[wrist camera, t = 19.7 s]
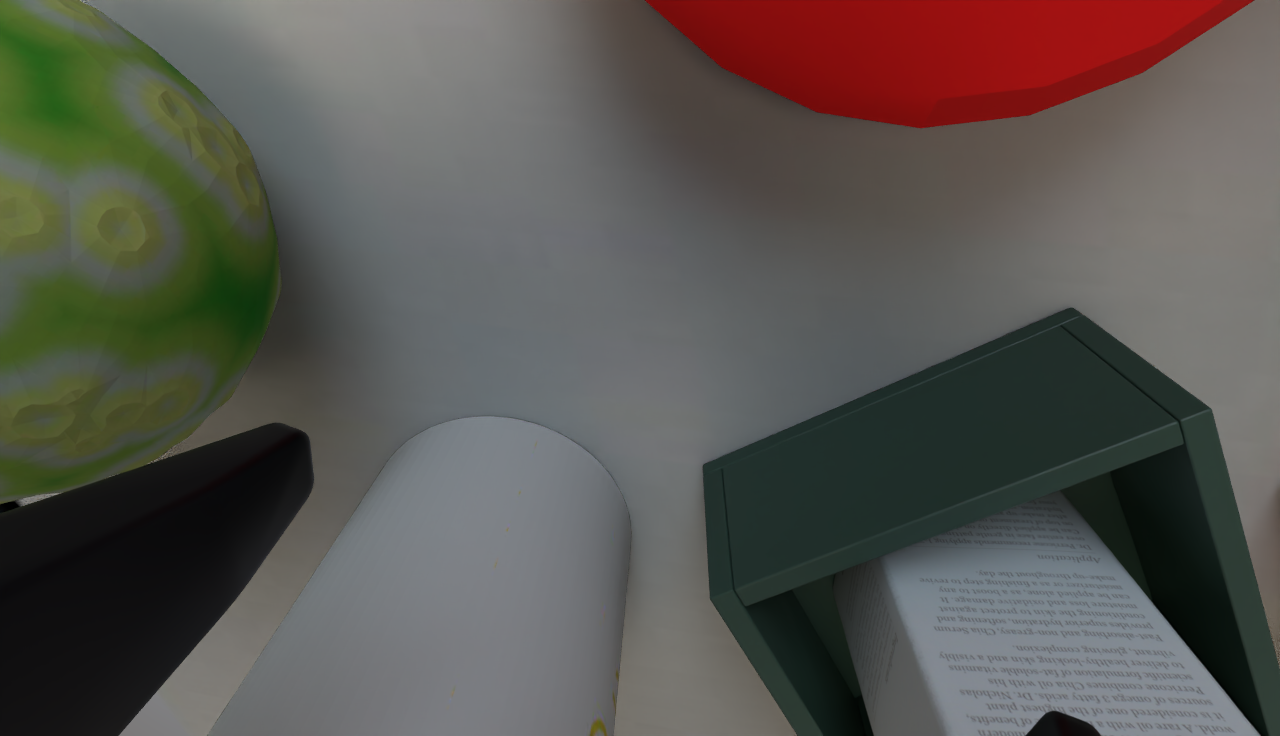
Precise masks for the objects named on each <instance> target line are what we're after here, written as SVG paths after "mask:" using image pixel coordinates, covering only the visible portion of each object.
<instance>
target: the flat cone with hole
mask: <svg viewBox="0 0 1280 736" xmlns="http://www.w3.org/2000/svg"><path fill="white" fill-rule="evenodd" d="M645 1H646V2H647V3H648V4H650V5H651V6H652V7H653V8H654V9H655V10H656V11H658V12H659V13H660V14H661V15H662V16H663V17H664V18H666V19H667V20H668V21H669V22H670V23H671V24H672V25H674V26H675V27H676V28H677V29H678V30H679V31H680V32H682V33H683V34H684V35H685V36H686V37H687V38H688V39H690V40H691V41H692V42H693V43H694V44H695V45H696V46H698V47H699V48H700V49H701V50H702V51H703V52H704V53H706V54H707V55H708V56H709V57H710V58H711V59H713V60H714V61H715V62H716V63H717V64H718V65H719V66H721V67H722V68H724V69H726V70H728V71H730V72H732V73H734V74H736V75H739V76H741V77H743V78H745V79H747V80H749V81H751V82H753V83H756V84H758V85H760V86H762V87H764V88H766V89H768V90H771V91H773V92H775V93H777V94H779V95H781V96H783V97H786V98H788V99H790V100H792V101H794V102H796V103H798V104H801V105H803V106H805V107H807V108H809V109H811V110H813V111H816V112H819V113H825V114H832V115H838V116H845V117H851V118H858V119H864V120H871V121H877V122H884V123H890V124H897V125H903V126H910V127H916V128H926V127H935V126H943V125H952V124H960V123H969V122H977V121H986V120H994V119H1003V118H1011V117H1020V116H1028V115H1032V114H1034V113H1037V112H1040V111H1042V110H1045V109H1048V108H1050V107H1053V106H1056V105H1058V104H1061V103H1064V102H1066V101H1069V100H1072V99H1074V98H1077V97H1080V96H1082V95H1085V94H1088V93H1090V92H1093V91H1095V90H1098V89H1101V88H1103V87H1106V86H1109V85H1111V84H1114V83H1117V82H1119V81H1122V80H1125V79H1127V78H1130V77H1133V76H1135V75H1138V74H1141V73H1143V72H1144V71H1146V70H1147V69H1149V68H1151V67H1152V66H1154V65H1155V64H1157V63H1158V62H1160V61H1161V60H1163V59H1164V58H1166V57H1168V56H1169V55H1171V54H1172V53H1174V52H1175V51H1177V50H1178V49H1180V48H1181V47H1183V46H1185V45H1186V44H1188V43H1189V42H1191V41H1192V40H1194V39H1195V38H1197V37H1198V36H1200V35H1202V34H1203V33H1205V32H1206V31H1208V30H1209V29H1211V28H1212V27H1214V26H1215V25H1217V24H1219V23H1220V22H1222V21H1223V20H1225V19H1226V18H1228V17H1229V16H1231V15H1232V14H1234V13H1236V12H1237V11H1239V10H1240V9H1242V8H1243V7H1245V6H1246V5H1248V4H1249V3H1251V2H1253V1H1254V0H645Z"/></svg>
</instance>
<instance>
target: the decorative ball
mask: <svg viewBox="0 0 1280 736" xmlns="http://www.w3.org/2000/svg"><path fill="white" fill-rule="evenodd" d="M281 284H282V278H281V271H280V263H279V253H278V243H277V236H276V232H275V228H274V224H273V220H272V215H271V211H270V207H269V203H268V199H267V195H266V191H265V189H264V186H263V183H262V180H261V178H260V175H259V172H258V169H257V167H256V164H255V162H254V159H253V157H252V154H251V152H250V149H249V148H248V146H247V144H246V143H245V141H244V140H243V138H242V137H241V135H240V134H239V133H238V131H237V130H236V129H235V128H234V126H233V125H232V124H231V123H230V122H229V121H228V120H227V119H226V118H225V117H224V115H223V114H222V113H221V112H220V111H219V110H218V109H217V108H216V107H215V106H214V105H213V104H212V102H211V101H210V100H209V99H208V98H207V97H206V96H205V95H204V94H203V93H202V92H201V91H200V90H199V89H198V88H197V87H196V86H195V85H194V84H193V83H191V82H190V81H189V80H188V79H187V78H186V77H185V76H183V75H182V74H181V73H180V72H179V71H178V70H177V69H175V68H174V67H173V66H172V65H171V64H170V63H168V62H167V61H166V60H165V59H164V58H163V57H162V56H160V55H159V54H158V53H157V52H156V51H155V50H153V49H152V48H151V47H149V46H148V45H147V44H145V43H144V42H142V41H141V40H140V39H138V38H137V37H135V36H134V35H133V34H131V33H130V32H128V31H127V30H126V29H124V28H123V27H121V26H120V25H119V24H117V23H116V22H114V21H113V20H112V19H110V18H109V17H107V16H106V15H105V14H103V13H102V12H100V11H99V10H97V9H96V8H94V7H91V6H89V5H87V4H85V3H83V2H81V1H79V0H0V504H1V503H6V502H10V501H14V500H18V499H22V498H26V497H31V496H35V495H40V494H50V493H61V492H67V491H70V490H73V489H76V488H79V487H82V486H85V485H88V484H91V483H94V482H97V481H100V480H103V479H105V478H107V477H109V476H112V475H116V474H119V473H123V472H127V471H130V470H133V469H136V468H139V467H141V466H144V465H146V464H148V463H150V462H151V461H153V460H155V459H157V458H158V457H160V456H161V455H163V454H164V453H165V452H166V451H167V450H169V449H170V448H171V447H172V446H174V445H176V444H178V443H180V442H182V441H183V440H185V439H186V438H188V437H189V436H190V435H191V434H192V433H193V432H194V431H195V430H196V429H197V428H198V427H199V426H200V425H201V424H202V422H203V421H204V420H205V419H206V418H207V417H208V416H209V415H211V414H212V413H213V412H214V411H216V410H217V409H218V408H219V407H221V406H222V405H223V404H224V403H226V402H227V401H228V400H229V399H230V398H231V396H232V395H233V393H234V391H235V389H236V388H237V386H238V384H239V382H240V380H241V379H242V377H243V375H244V373H245V371H246V370H247V368H248V366H249V364H250V362H251V361H252V359H253V357H254V355H255V353H256V352H257V350H258V348H259V346H260V343H261V341H262V339H263V337H264V334H265V332H266V330H267V327H268V325H269V322H270V319H271V317H272V314H273V312H274V309H275V306H276V304H277V301H278V298H279V296H280V292H281Z"/></svg>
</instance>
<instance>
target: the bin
mask: <svg viewBox="0 0 1280 736" xmlns="http://www.w3.org/2000/svg"><path fill="white" fill-rule="evenodd" d="M703 476H704V477H703V481H704V499H705V517H706V535H707V554H708V572H709V590H710V600H711V601H712V603H713V604H714V606H715V608H716V609H717V611H718V612H719V614H720V615H721V617H722V619H723V620H724V622H725V623H726V625H727V626H728V628H729V629H730V631H731V633H732V634H733V636H734V637H735V639H736V640H737V642H738V643H739V645H740V647H741V648H742V650H743V651H744V653H745V654H746V656H747V657H748V659H749V661H750V662H751V664H752V665H753V667H754V668H755V670H756V672H757V673H758V675H759V676H760V678H761V679H762V681H763V682H764V684H765V686H766V687H767V689H768V690H769V692H770V693H771V695H772V696H773V698H774V700H775V701H776V703H777V704H778V706H779V707H780V709H781V710H782V712H783V714H784V715H785V717H786V718H787V720H788V721H789V723H790V724H791V726H792V728H793V729H794V731H795V732H796V734H797V735H798V736H874V734H873V731H872V727H871V724H870V720H869V717H868V713H867V710H866V707H865V703H864V700H863V696H862V692H861V689H860V685H859V682H858V678H857V675H856V672H855V668H854V665H853V661H852V658H851V654H850V651H849V647H848V643H847V640H846V636H845V632H844V629H843V625H842V622H841V618H840V615H839V612H838V608H837V605H836V601H835V598H834V594H833V585H834V580H835V575H836V573H838V572H840V571H843V570H846V569H849V568H851V567H854V566H857V565H859V564H862V563H865V562H867V561H870V560H873V559H876V558H878V557H881V556H884V555H886V554H889V553H892V552H894V551H897V550H900V549H902V548H905V547H908V546H911V545H913V544H916V543H919V542H921V541H924V540H927V539H929V538H932V537H935V536H938V535H940V534H943V533H946V532H948V531H951V530H954V529H956V528H959V527H962V526H965V525H967V524H970V523H973V522H975V521H978V520H981V519H983V518H986V517H989V516H991V515H994V514H997V513H1000V512H1002V511H1005V510H1008V509H1010V508H1013V507H1016V506H1018V505H1021V504H1024V503H1027V502H1029V501H1032V500H1035V499H1037V498H1040V497H1043V496H1045V495H1048V494H1051V493H1054V492H1056V491H1059V490H1060V491H1061V492H1063V494H1064V495H1065V496H1066V497H1067V499H1068V500H1069V501H1070V502H1071V503H1072V505H1073V506H1074V507H1075V508H1076V509H1077V511H1078V512H1079V513H1080V514H1081V515H1082V517H1083V518H1084V519H1085V520H1086V522H1087V523H1088V524H1089V526H1090V527H1091V528H1092V529H1093V530H1094V532H1095V533H1096V534H1097V535H1098V536H1099V538H1100V539H1101V540H1102V541H1103V543H1104V544H1105V545H1106V546H1107V547H1108V549H1109V550H1110V551H1111V552H1112V553H1113V555H1114V556H1115V557H1116V559H1117V560H1118V561H1119V562H1120V564H1121V565H1122V566H1123V567H1124V568H1125V570H1126V571H1127V572H1128V573H1129V574H1130V576H1131V577H1132V578H1133V579H1134V581H1135V582H1136V583H1137V584H1138V586H1139V587H1140V588H1141V589H1142V591H1143V592H1144V593H1145V594H1146V596H1147V597H1148V598H1149V599H1150V600H1151V602H1152V603H1153V604H1154V605H1155V607H1156V608H1157V609H1158V610H1159V612H1160V613H1161V614H1162V615H1163V616H1164V618H1165V619H1166V620H1167V621H1168V623H1169V624H1170V625H1171V626H1172V628H1173V629H1174V630H1175V631H1176V633H1177V634H1178V635H1179V636H1180V637H1181V639H1182V640H1183V641H1184V642H1185V644H1186V645H1187V646H1188V647H1189V649H1190V650H1191V651H1192V652H1193V653H1194V655H1195V656H1196V657H1197V658H1198V660H1199V661H1200V662H1201V663H1202V664H1203V666H1204V667H1205V668H1206V669H1207V671H1208V672H1209V673H1210V674H1211V675H1212V677H1213V678H1214V679H1215V680H1216V682H1217V683H1218V684H1219V685H1220V686H1221V688H1222V689H1223V690H1224V691H1225V693H1226V694H1227V695H1228V696H1229V698H1230V699H1231V700H1232V701H1233V703H1234V704H1235V705H1236V706H1237V708H1238V709H1239V710H1240V711H1241V713H1242V714H1243V715H1244V717H1245V718H1246V719H1247V720H1248V721H1249V722H1250V724H1251V725H1252V726H1253V727H1254V729H1255V730H1256V731H1257V732H1258V733H1259V735H1260V736H1280V669H1279V665H1278V661H1277V657H1276V653H1275V649H1274V646H1273V642H1272V638H1271V634H1270V630H1269V626H1268V623H1267V619H1266V615H1265V611H1264V607H1263V604H1262V600H1261V596H1260V592H1259V588H1258V584H1257V581H1256V577H1255V573H1254V569H1253V565H1252V562H1251V558H1250V554H1249V550H1248V546H1247V542H1246V539H1245V535H1244V531H1243V527H1242V523H1241V520H1240V516H1239V512H1238V508H1237V504H1236V500H1235V497H1234V493H1233V489H1232V485H1231V481H1230V477H1229V474H1228V470H1227V466H1226V462H1225V458H1224V455H1223V451H1222V447H1221V443H1220V439H1219V435H1218V432H1217V428H1216V424H1215V420H1214V416H1213V413H1212V409H1211V408H1210V407H1208V406H1207V405H1205V404H1204V403H1203V402H1201V401H1200V400H1199V399H1197V398H1196V397H1195V396H1193V395H1192V394H1190V393H1189V392H1188V391H1186V390H1185V389H1184V388H1182V387H1181V386H1180V385H1178V384H1177V383H1176V382H1174V381H1173V380H1171V379H1170V378H1169V377H1167V376H1166V375H1165V374H1163V373H1162V372H1161V371H1159V370H1158V369H1156V368H1155V367H1154V366H1152V365H1151V364H1150V363H1148V362H1147V361H1146V360H1144V359H1143V358H1141V357H1140V356H1139V355H1137V354H1136V353H1135V352H1133V351H1132V350H1131V349H1129V348H1128V347H1127V346H1125V345H1124V344H1122V343H1121V342H1120V341H1118V340H1117V339H1116V338H1114V337H1113V336H1112V335H1110V334H1109V333H1107V332H1106V331H1105V330H1103V329H1102V328H1101V327H1099V326H1098V325H1097V324H1095V323H1094V322H1093V321H1091V320H1090V319H1088V318H1087V317H1086V316H1084V315H1082V314H1081V313H1080V312H1078V311H1077V310H1076V309H1074V308H1069V309H1066V310H1064V311H1062V312H1059V313H1057V314H1055V315H1052V316H1050V317H1047V318H1045V319H1043V320H1040V321H1038V322H1036V323H1033V324H1031V325H1029V326H1026V327H1024V328H1022V329H1019V330H1017V331H1015V332H1012V333H1010V334H1008V335H1005V336H1003V337H1001V338H998V339H996V340H994V341H991V342H989V343H987V344H984V345H982V346H980V347H977V348H975V349H973V350H970V351H968V352H966V353H963V354H961V355H959V356H956V357H954V358H952V359H949V360H947V361H945V362H942V363H940V364H938V365H935V366H933V367H931V368H928V369H926V370H924V371H921V372H919V373H917V374H914V375H912V376H910V377H907V378H905V379H903V380H900V381H898V382H896V383H893V384H891V385H889V386H886V387H884V388H882V389H879V390H877V391H874V392H872V393H870V394H867V395H865V396H863V397H860V398H858V399H856V400H853V401H851V402H849V403H846V404H844V405H842V406H839V407H837V408H835V409H832V410H830V411H828V412H825V413H823V414H821V415H818V416H816V417H814V418H811V419H809V420H807V421H804V422H802V423H800V424H797V425H795V426H793V427H790V428H788V429H786V430H783V431H781V432H779V433H776V434H774V435H772V436H769V437H767V438H765V439H762V440H760V441H758V442H755V443H753V444H751V445H748V446H746V447H744V448H741V449H739V450H737V451H734V452H732V453H730V454H727V455H725V456H723V457H720V458H718V459H716V460H713V461H711V462H709V463H706V464H704V465H703Z"/></svg>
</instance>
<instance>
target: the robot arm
mask: <svg viewBox="0 0 1280 736" xmlns="http://www.w3.org/2000/svg"><path fill="white" fill-rule="evenodd" d="M313 483H314V473H313V464H312V454H311V445H310V439H309V437H308V435H307V434H306V433H305V432H303V431H301V430H299V429H296V428H293V427H291V426H288V425H285V424H282V423H271V424H267V425H264V426H261V427H258V428H255V429H252V430H249V431H246V432H243V433H240V434H237V435H234V436H231V437H228V438H225V439H222V440H219V441H216V442H213V443H210V444H207V445H204V446H201V447H198V448H195V449H193V450H190V451H187V452H184V453H181V454H178V455H175V456H172V457H169V458H166V459H163V460H160V461H157V462H154V463H151V464H148V465H145V466H142V467H139V468H136V469H133V470H130V471H127V472H124V473H121V474H118V475H115V476H112V477H109V478H106V479H103V480H100V481H97V482H94V483H91V484H88V485H85V486H82V487H79V488H76V489H73V490H70V491H67V492H64V493H61V494H58V495H55V496H52V497H49V498H46V499H43V500H40V501H37V502H34V503H31V504H28V505H25V506H22V507H19V508H16V509H13V510H10V511H7V512H4V513H1V514H0V736H119V735H120V733H121V732H122V731H123V730H124V729H125V728H126V726H127V725H128V724H129V723H130V722H131V721H132V719H133V718H134V717H135V716H136V715H137V714H138V713H139V711H140V710H141V709H142V708H143V707H144V706H145V704H146V703H147V702H148V701H149V700H150V699H151V697H152V696H153V695H154V694H155V693H156V692H157V691H158V689H159V688H160V687H161V686H162V685H163V684H164V682H165V681H166V680H167V679H168V678H169V677H170V676H171V674H172V673H173V672H174V671H175V670H176V669H177V667H178V666H179V665H180V664H181V663H182V662H183V660H184V659H185V658H186V657H187V656H188V655H189V654H190V652H191V651H192V650H193V649H194V648H195V647H196V645H197V644H198V643H199V642H200V641H201V640H202V638H203V637H204V636H205V635H206V634H207V633H208V632H209V630H210V629H211V628H212V627H213V626H214V625H215V623H216V622H217V621H218V620H219V619H220V618H221V616H222V615H223V614H224V613H225V612H226V611H227V609H228V608H229V607H230V606H231V604H232V603H233V602H234V601H235V600H236V598H237V597H238V596H239V595H240V593H241V592H242V591H243V589H244V588H245V586H246V585H247V584H248V582H249V581H250V580H251V578H252V577H253V575H254V574H255V573H256V571H257V570H258V568H259V567H260V565H261V564H262V563H263V561H264V560H265V558H266V557H267V556H268V554H269V553H270V551H271V550H272V548H273V547H274V546H275V544H276V543H277V541H278V540H279V538H280V537H281V536H282V534H283V533H284V531H285V530H286V528H287V527H288V526H289V524H290V523H291V521H292V520H293V519H294V517H295V516H296V514H297V513H298V511H299V510H300V509H301V507H302V506H303V504H304V503H305V501H306V500H307V498H308V497H309V495H310V493H311V491H312V488H313ZM1026 736H1101V735H1100V733H1099V732H1098V731H1097V730H1096V729H1095V728H1094V727H1093V726H1092V725H1091V724H1089V723H1088V722H1085V721H1083V720H1080V719H1078V718H1075V717H1072V716H1070V715H1067V714H1064V713H1062V712H1059V711H1050V712H1047V713H1045V714H1044V715H1043V716H1042V717H1041V718H1040V720H1039V721H1038V722H1037V723H1036V724H1035V725H1034V726H1033V728H1032V729H1031V730H1030V731H1029V732H1028V733H1027V734H1026Z"/></svg>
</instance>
